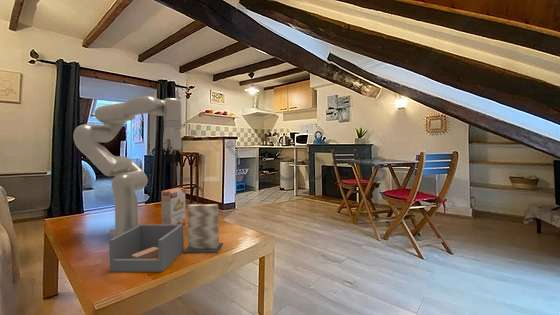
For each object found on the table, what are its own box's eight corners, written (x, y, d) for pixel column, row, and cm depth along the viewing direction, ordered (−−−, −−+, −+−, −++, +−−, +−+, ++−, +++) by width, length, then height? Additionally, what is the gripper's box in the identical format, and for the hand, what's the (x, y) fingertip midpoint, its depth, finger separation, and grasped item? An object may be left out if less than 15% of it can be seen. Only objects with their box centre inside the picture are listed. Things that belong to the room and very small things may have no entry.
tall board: (188, 248, 110) (187, 205, 110) (191, 245, 113) (190, 204, 113) (217, 248, 110) (216, 205, 109) (218, 245, 113) (218, 204, 112)
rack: (109, 271, 91) (109, 240, 91) (140, 250, 110) (139, 224, 109) (162, 271, 90) (161, 240, 90) (183, 250, 109) (183, 224, 109)
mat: (183, 253, 107) (183, 251, 107) (191, 244, 117) (191, 242, 117) (217, 253, 106) (217, 251, 106) (223, 244, 116) (223, 242, 116)
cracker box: (171, 231, 136) (170, 191, 135) (161, 230, 137) (160, 191, 136) (186, 223, 149) (185, 187, 149) (177, 223, 150) (176, 187, 150)
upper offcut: (153, 253, 102) (153, 246, 102) (159, 254, 100) (159, 248, 100) (131, 261, 94) (131, 255, 94) (137, 263, 92) (137, 256, 92)
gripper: (172, 127, 130) (173, 161, 130) (155, 123, 113) (156, 163, 113) (187, 127, 130) (188, 161, 130) (172, 123, 113) (173, 163, 113)
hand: (173, 162), depth 122 cm, fingers open, 9 cm apart
